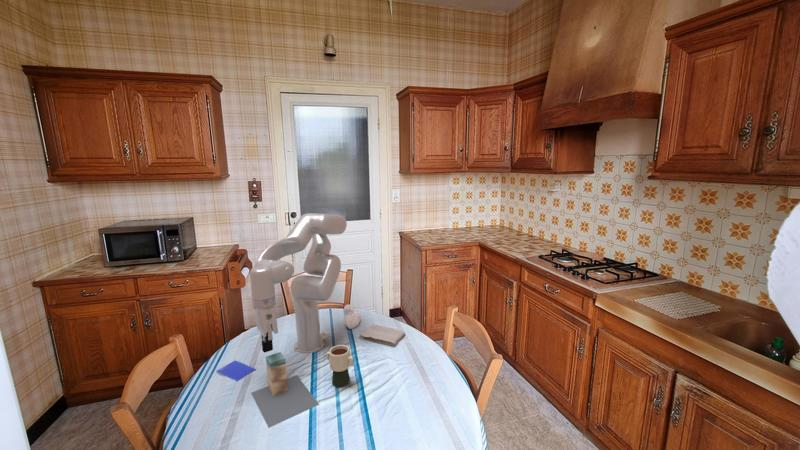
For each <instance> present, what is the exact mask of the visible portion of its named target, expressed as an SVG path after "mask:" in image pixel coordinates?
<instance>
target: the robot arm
mask: <svg viewBox="0 0 800 450" xmlns="http://www.w3.org/2000/svg"><path fill="white" fill-rule="evenodd" d="M347 223H348V222H347V219H346V218H345V217H344V216H343V215H340V214H328V213H316V212H315V213H312V212H310V213H309V212H308V213H304V214H302V215H301V216H300V217H299V218H298V220H297V221H296V223H295V224H294V226H293V227H292V228H291V230H290V231H289V232H288V233H287V235H286V236H285V237H283V238H281V239H280V240H277V241H276V242H275V243H273V244H271V245H270V246H268V247H266V249H265V250H263V252H262V253H261V255H260V256H259V257H258V259H257V260H256V261H255V263H254V267H252V268H251V269H250V271H249V280H250V290H251V291H250V292H251V303H252V309H253V310H255V323H256V328H257V330H258V331H259V333H260V337H261V338H260V339H261V351H263V353H268V352H270V351H273V349H274V348H273V347H274V345H273V340H274V339H273V338H274V336H273V333H274V334H278V332H279V328H278V322H277V321H278V320H277V313H276V309H275V308H276V307H275V306H276V303H277V301H276V291H275V287H276V286H275V285H277V284H281V283H284V282H287V281H289V280H290V279H291V278H292V277H293V276H294V272H295V269H294V266H293V265H292V263H290V262H289V261H285V260H280V259H282V258H285V257H287V256H291V255H294V254H298V253H300V252H303V251H304V250H305V249H306V248H307V246H308V244H309V243H310V242H311V240H312V243H311V246H310V249H309V250H308V253H307V256H306V257H305V260H304V262H303V271H304V272H305V273H306V274H308V275H305V274H300V275H298V276H295V277H294V278H292V281H291V283H290V293H291V296H292V299H293V300H292V301H293V304H294V314H295V326H296V338H297V341H296V343H294V345H293V349H294V351H295V352H296V353H299V354H312V353H317V352H319V351H321V350H322V349H323V348H324V347H325V339H329V338H331V337H332V334H331V332H327V333H326V331H324V332H321V327H320V325H321V324H320V315H319V313H320V312H319V304H318V302H317V301H320V302H324V301H325V302H326V301H328V300H329V299H330V298H331V297H332V295H333V292H334V289H335V286H336V284H337V281H338V278H339V275H340V272H341V269H342V263H341V259H340V257H338V255H336V254H331V253H330V252H331V250H332V245H331V242H330V239H329V238H328V235H329V236H330V235H332V236H333V235H341V234H343V233H345V231H346V230H347V226H348V225H347Z"/></svg>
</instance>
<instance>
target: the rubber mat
mask: <svg viewBox="0 0 800 450" xmlns="http://www.w3.org/2000/svg"><path fill="white" fill-rule="evenodd" d="M287 384H288V390H287V391H284V392H282V393H279V394H277V395H275V396H273V395H272V393H271V391H270V390H269V385H267V386H265V387H263V388H260V389H257V390H255V391H252V392H250V393H251V396H252V398H253V400H254V402H255V403H256V406H257V408H258V409H259V411H260V414H261V415H262V417H263V419H264V420H263V421H264V422H265V423H266V425H267V427H268V429H269V428H271V427H274V426H276V425H279V424H281V423H283V422H284V421H287V420H289V419H292V418H293V417H295V416H297V415H299V414H301V413H304V412H306V411H308V410H311V409H313V408H315V407H317V406H320V403H319V402H318V401H317V399H316V398H315V397H314V395H313V394H312V393H311V391H309V389H308V388H307V386H306V385H305V384H304V383H303V381H302V380H301V378H300V377H299V376H298V375H297V374H295V375H293V376H290V377H287Z"/></svg>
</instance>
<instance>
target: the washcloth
mask: <svg viewBox="0 0 800 450" xmlns="http://www.w3.org/2000/svg"><path fill="white" fill-rule="evenodd" d="M405 335H406V332H404V331H403V330H401V329H400V330H399V329H394V328H391V327H387V326H382V325H378V324H372V325H369V327H368V328H366V330H364V331H362V332H360V335H359V339H362V340H364V341H365V342H371V343H374V344H378V345H383V346H387V347H391V348H392V347H395V346H396V345H397V344H398V343H399V342H400V341H401V339H403V338H404V336H405Z"/></svg>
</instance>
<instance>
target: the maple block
mask: <svg viewBox="0 0 800 450" xmlns="http://www.w3.org/2000/svg"><path fill="white" fill-rule="evenodd" d="M265 362H266V363H265V364H266V374H267V381H268V382H267V386H269V390H270V391H271V393H272V395H273V396H275V395H277V394H279V393H282V392H284V391H287V390H288V384H287V378H288V375H287V364H286V363H287V362H286V357H285V356H284V354H283V353H282V352H281V351H280V352H276V353H274V354H271V355H267V356H265Z"/></svg>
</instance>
